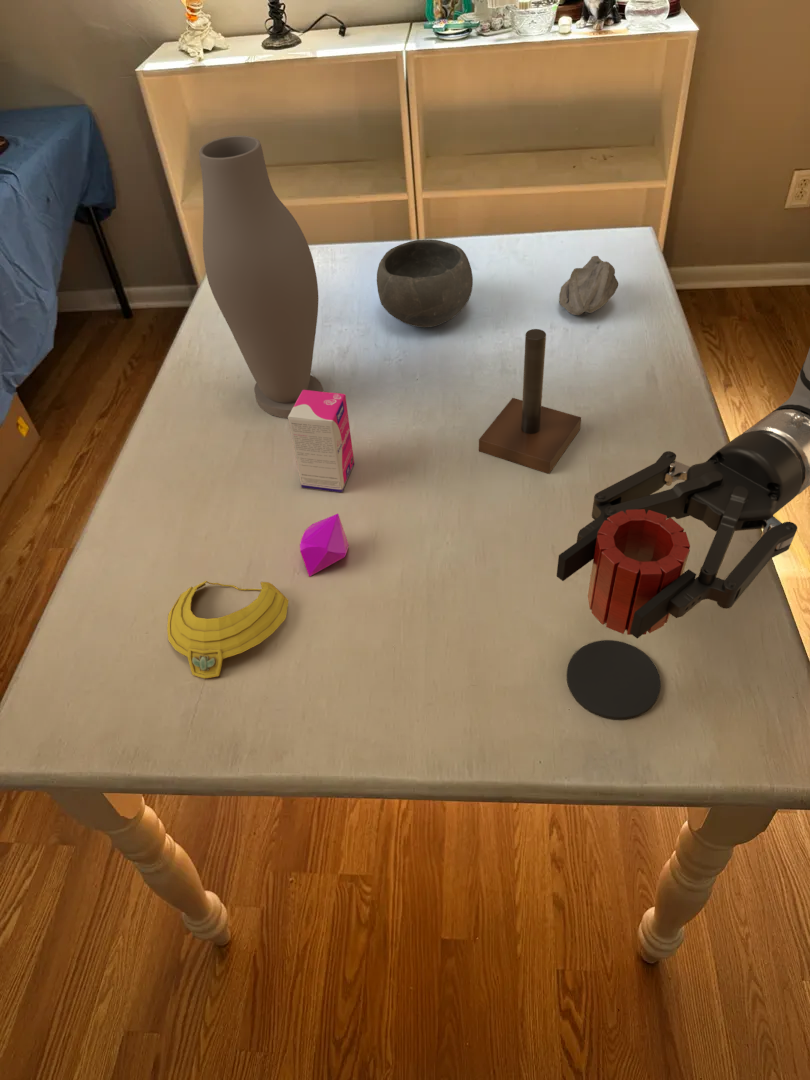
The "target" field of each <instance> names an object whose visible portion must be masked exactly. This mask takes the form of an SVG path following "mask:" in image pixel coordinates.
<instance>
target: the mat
mask: <svg viewBox="0 0 810 1080" xmlns="http://www.w3.org/2000/svg"><path fill="white" fill-rule="evenodd" d="M655 664H656V663H654V661H653V660H652V659H651V657H649V656H648V655H647V654H646V653H645V652H644V651H642V650H641V649H639V648H638V647H636V646H634V645H632V644H630V643H627V642H624V641H619V640H613V639H612V640H611V639H604V640H597V641H592V642H589V643H587V644H585V645H583V646H581V647H580V648H579V649H578V650H576V651H575V653H574V654H572V657H571V658H570V659H569V662H568V664H567V668H566V682H567V686H568V690H569V692H570V693H571V696H572V697H573V699H574V700H575V701H576V702H577V703H578V704H579V705H580V706H581V707H583V709H585V710H586V711H587V712H589V713H592V714H593V715H595V716H598V717H601V718H604V719H608V720H613V721H614V720H616V721H624V720H625V721H626V720H630V719H634V718H637V717H640V716H641V715H645V713H647V712H649V711H650V710H651V709H652V708H653V706H654V705H655V704H656V702H657V700H658V698H659V695H660V692H661V686H662V685H661V684H662V683H661V682H662V681H661V676H660V672H659V670H658V668H657V666H656V665H655Z"/></svg>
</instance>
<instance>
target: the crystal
mask: <svg viewBox="0 0 810 1080" xmlns="http://www.w3.org/2000/svg"><path fill="white" fill-rule="evenodd" d="M349 546H350V544H349V541H348V538H347V535H346V531H345V529H344V526H343V523H342V520H341V518H340V515H339V513H336V514H332V515H331V516H328V517H325V518H323V519H320V520H319V521H316V522H314V523H312V524H310V525H309V526H307V528H306V529H304V532H303V533H302V536H301V538H300V543H299V551H300V554H301V558H302V560H303V563H304V566H305V569H306V572H307V574H308V577H309V578H311V576H313V575H315V574H317V573H319V572H320V571H322V570H324V569H326V568H328V567H330V566H332V565H333V564H335V563H337V562H338V561H340V560H342V559H344V558H345V557H346V556H347V552H348V550H349Z"/></svg>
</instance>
